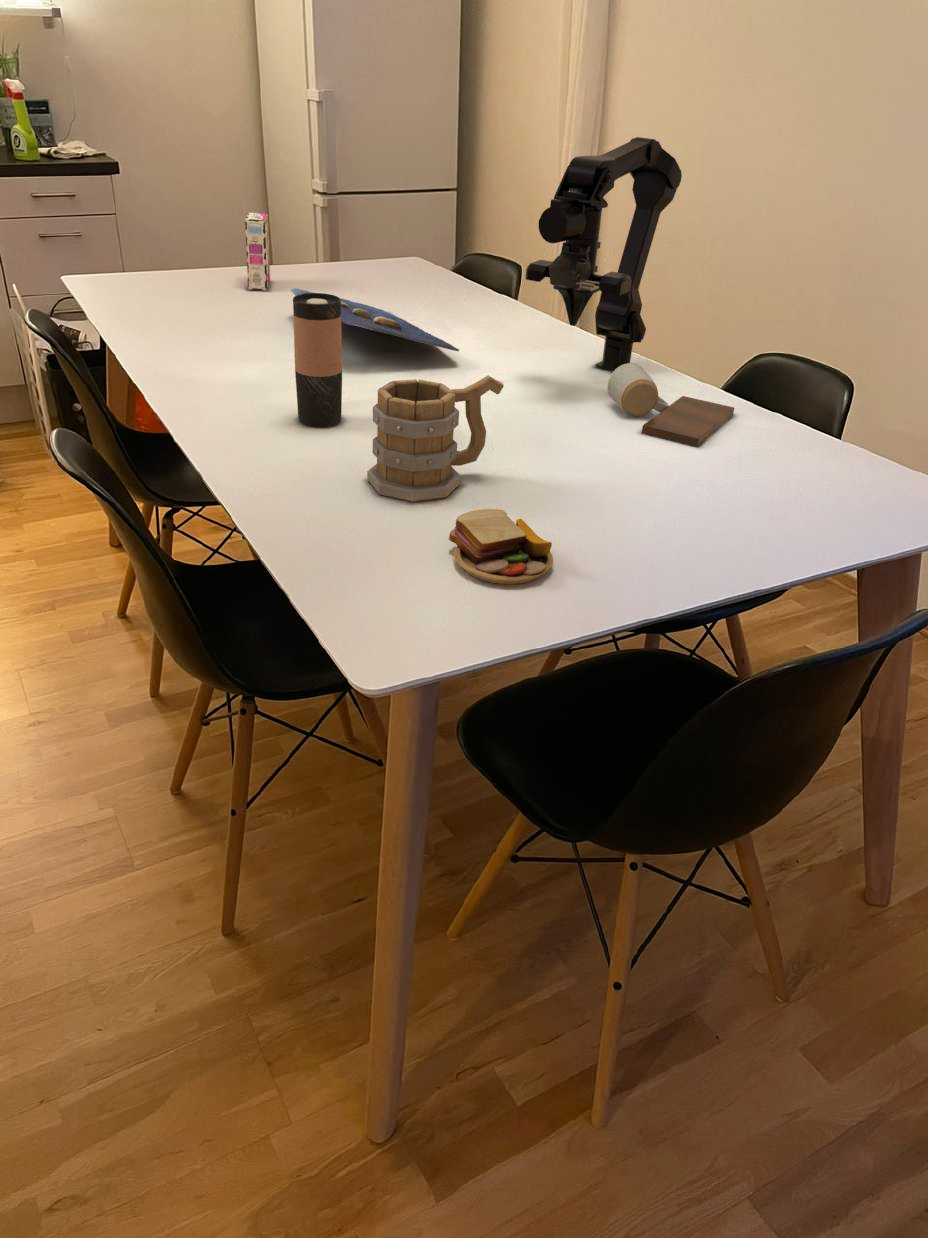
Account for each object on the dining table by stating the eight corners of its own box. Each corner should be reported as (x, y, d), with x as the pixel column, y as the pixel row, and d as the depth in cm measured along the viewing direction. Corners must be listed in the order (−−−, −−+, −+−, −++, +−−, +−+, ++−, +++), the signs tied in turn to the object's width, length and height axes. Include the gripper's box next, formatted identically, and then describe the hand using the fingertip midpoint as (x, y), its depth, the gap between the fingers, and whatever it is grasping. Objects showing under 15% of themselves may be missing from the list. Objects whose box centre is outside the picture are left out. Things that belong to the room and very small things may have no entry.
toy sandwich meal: (479, 595, 114) (481, 559, 111) (435, 545, 124) (437, 512, 121) (570, 578, 118) (574, 544, 116) (521, 532, 129) (524, 500, 126)
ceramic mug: (618, 418, 169) (625, 376, 165) (604, 403, 176) (610, 361, 172) (674, 418, 172) (682, 376, 168) (657, 403, 178) (665, 362, 174)
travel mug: (350, 416, 163) (349, 296, 152) (330, 431, 156) (328, 306, 146) (309, 409, 165) (306, 290, 154) (288, 423, 158) (283, 300, 148)
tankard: (387, 505, 133) (389, 401, 125) (359, 471, 143) (359, 372, 135) (515, 489, 141) (524, 390, 133) (480, 457, 150) (486, 363, 143)
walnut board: (681, 403, 179) (682, 395, 178) (733, 415, 175) (734, 407, 174) (641, 433, 164) (642, 424, 163) (697, 446, 160) (698, 438, 159)
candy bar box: (268, 291, 235) (265, 220, 226) (247, 290, 234) (243, 219, 225) (271, 281, 244) (268, 212, 235) (251, 280, 243) (247, 211, 235)
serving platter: (269, 327, 215) (279, 275, 211) (379, 353, 229) (391, 305, 225) (331, 374, 180) (345, 313, 176) (457, 401, 193) (473, 345, 189)
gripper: (515, 235, 167) (508, 325, 175) (614, 250, 159) (602, 344, 168) (542, 226, 175) (535, 313, 183) (638, 241, 168) (625, 330, 176)
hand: (572, 325), depth 177 cm, fingers closed
